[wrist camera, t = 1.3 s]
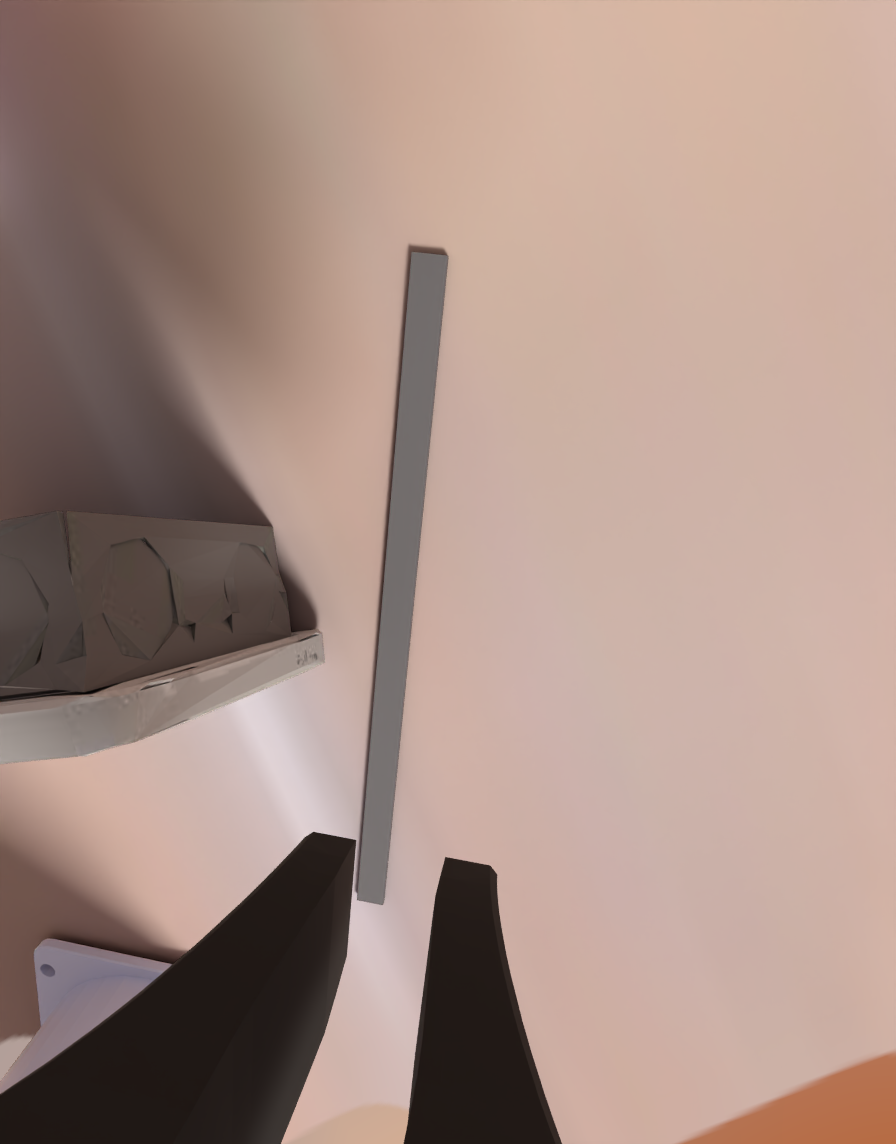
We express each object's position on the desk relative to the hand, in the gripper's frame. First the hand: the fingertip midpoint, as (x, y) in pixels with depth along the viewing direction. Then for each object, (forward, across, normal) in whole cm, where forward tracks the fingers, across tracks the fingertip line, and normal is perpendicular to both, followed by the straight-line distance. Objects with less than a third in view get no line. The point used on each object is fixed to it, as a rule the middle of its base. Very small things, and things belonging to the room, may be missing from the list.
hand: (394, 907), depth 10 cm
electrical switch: (+10, +9, 0) cm, 13 cm away
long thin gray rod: (+9, +2, 0) cm, 10 cm away
